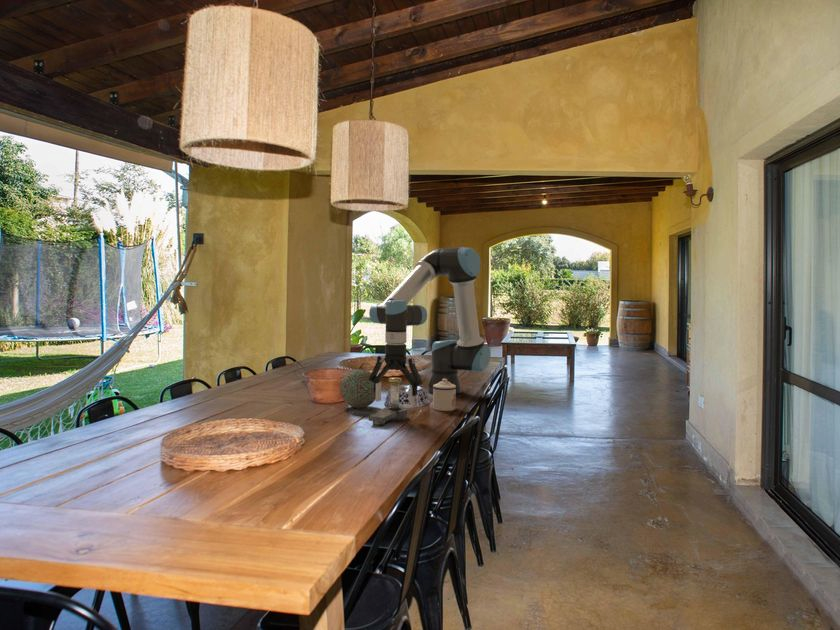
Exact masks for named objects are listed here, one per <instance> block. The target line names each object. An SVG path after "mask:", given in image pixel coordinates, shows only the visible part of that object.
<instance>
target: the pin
mask: <svg viewBox="0 0 840 630" xmlns="http://www.w3.org/2000/svg"><path fill="white" fill-rule="evenodd" d="M387 381H388V383H389V384H390V385H389V387H390V388H389V391H390V392H389V394H390V395H389V396H390V397H389V407H390V410H399V407H400V383H402V381H403V379H402V378H401V377H396V376H394V377H388V379H387Z"/></svg>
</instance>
